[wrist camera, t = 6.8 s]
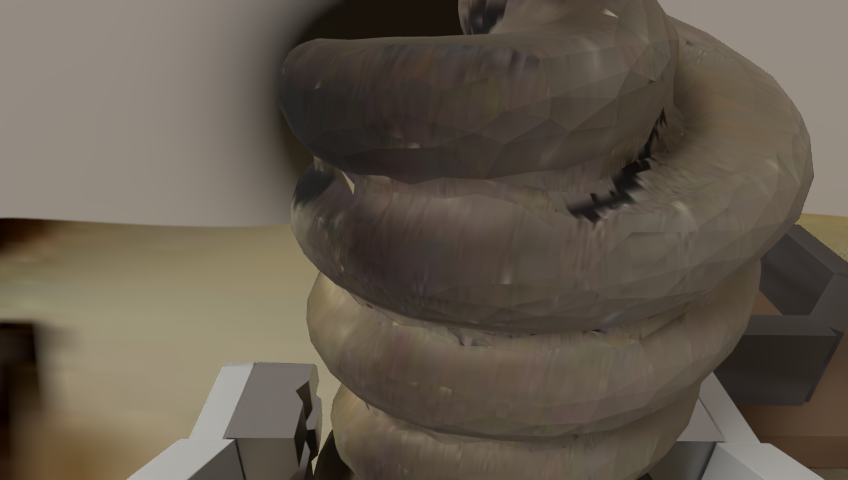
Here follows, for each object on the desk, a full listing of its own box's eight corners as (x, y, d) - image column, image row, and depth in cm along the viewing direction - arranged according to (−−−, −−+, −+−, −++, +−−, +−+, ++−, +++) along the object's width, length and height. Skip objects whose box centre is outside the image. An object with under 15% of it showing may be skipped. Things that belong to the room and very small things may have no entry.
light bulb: (486, 517, 16) (584, -63, 8) (623, 730, 12) (1055, -42, 4) (299, 609, 14) (206, -84, 6) (388, 915, 9) (437, -84, 2)
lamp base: (549, 465, 17) (570, 361, 15) (499, 256, 29) (507, 178, 26) (944, 468, 18) (1022, 365, 15) (740, 258, 29) (768, 182, 27)
